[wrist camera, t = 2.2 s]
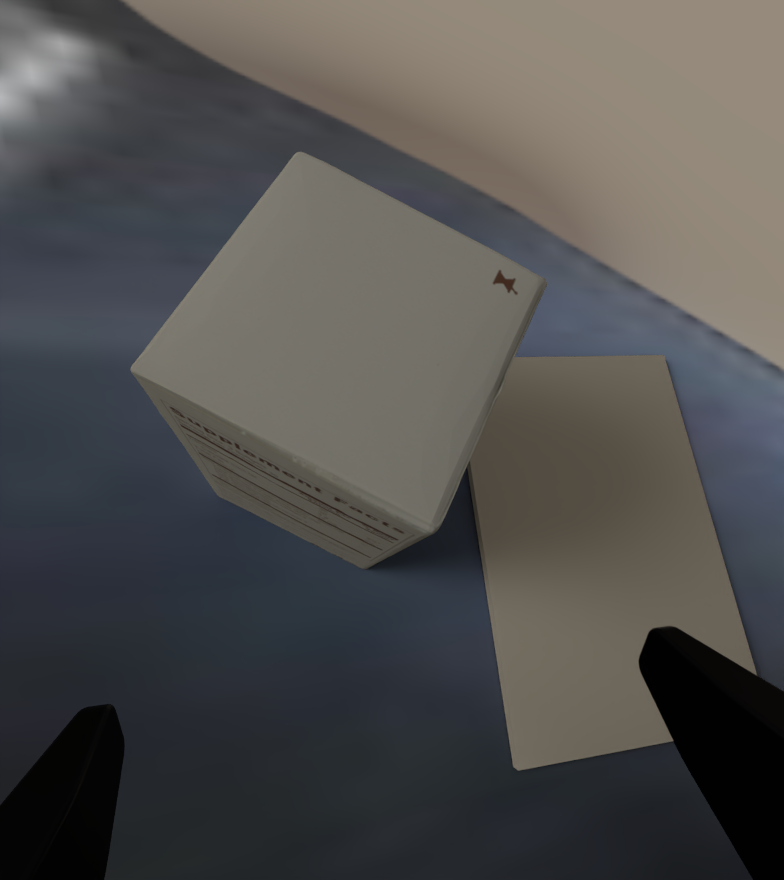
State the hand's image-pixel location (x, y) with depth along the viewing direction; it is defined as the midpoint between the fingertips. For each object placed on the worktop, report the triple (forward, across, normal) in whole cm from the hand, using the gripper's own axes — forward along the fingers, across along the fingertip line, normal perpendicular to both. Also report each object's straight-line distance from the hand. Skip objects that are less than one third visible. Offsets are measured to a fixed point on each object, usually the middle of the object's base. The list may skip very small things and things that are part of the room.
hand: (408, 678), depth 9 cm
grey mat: (+12, -13, +7) cm, 19 cm away
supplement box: (+15, 0, +4) cm, 16 cm away
